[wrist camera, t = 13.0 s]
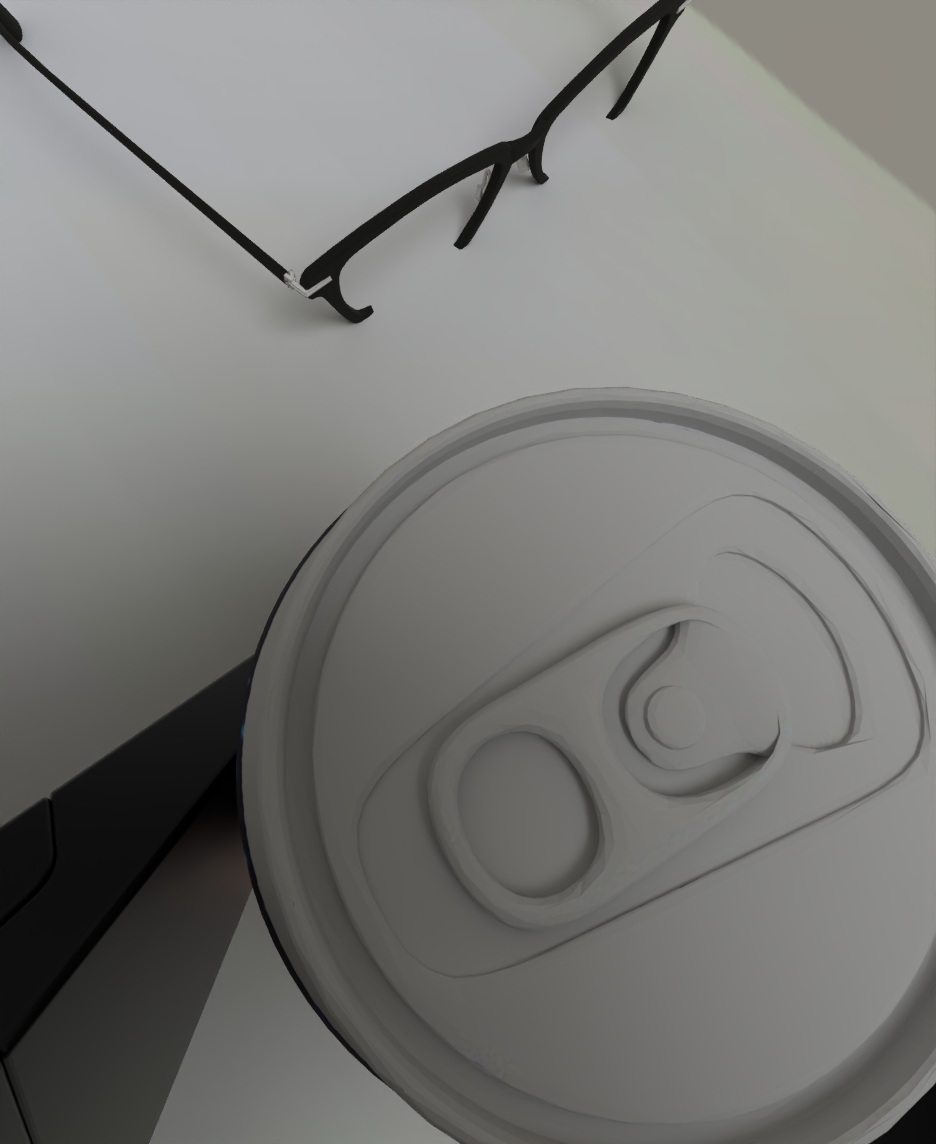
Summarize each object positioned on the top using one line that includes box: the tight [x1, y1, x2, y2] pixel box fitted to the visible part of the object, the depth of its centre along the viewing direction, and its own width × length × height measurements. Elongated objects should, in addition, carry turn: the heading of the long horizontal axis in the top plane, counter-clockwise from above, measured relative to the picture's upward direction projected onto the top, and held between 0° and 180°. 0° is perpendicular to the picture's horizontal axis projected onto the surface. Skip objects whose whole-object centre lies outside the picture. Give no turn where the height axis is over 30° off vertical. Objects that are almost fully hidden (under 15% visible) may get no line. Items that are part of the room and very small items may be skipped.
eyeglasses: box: [0, 0, 692, 323], centre depth 20 cm, size 16×16×4 cm
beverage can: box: [236, 387, 936, 1144], centre depth 10 cm, size 6×6×12 cm
